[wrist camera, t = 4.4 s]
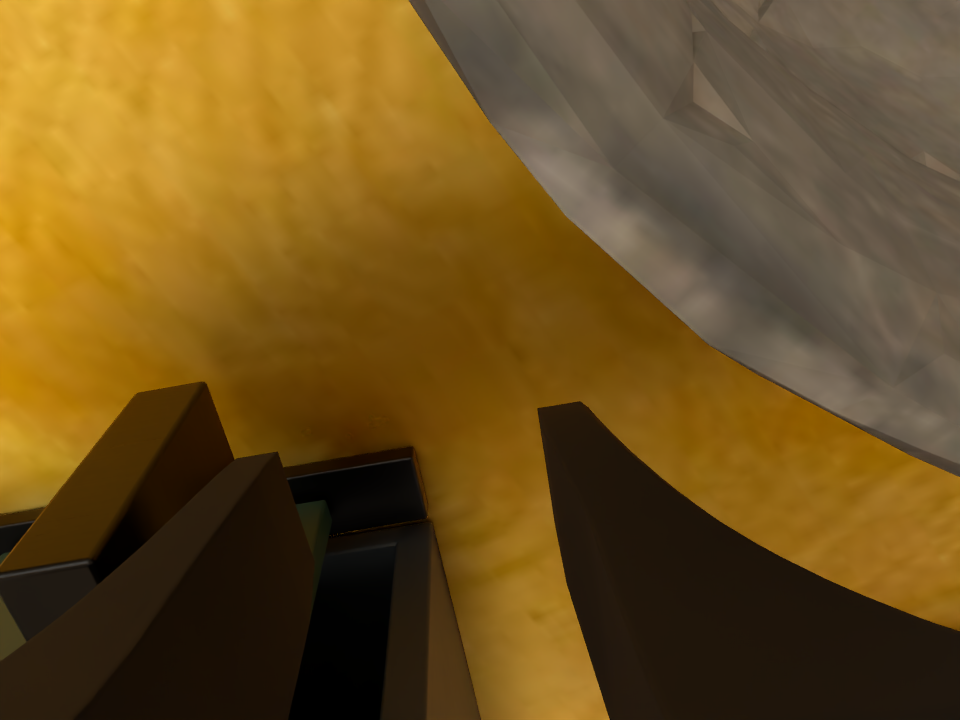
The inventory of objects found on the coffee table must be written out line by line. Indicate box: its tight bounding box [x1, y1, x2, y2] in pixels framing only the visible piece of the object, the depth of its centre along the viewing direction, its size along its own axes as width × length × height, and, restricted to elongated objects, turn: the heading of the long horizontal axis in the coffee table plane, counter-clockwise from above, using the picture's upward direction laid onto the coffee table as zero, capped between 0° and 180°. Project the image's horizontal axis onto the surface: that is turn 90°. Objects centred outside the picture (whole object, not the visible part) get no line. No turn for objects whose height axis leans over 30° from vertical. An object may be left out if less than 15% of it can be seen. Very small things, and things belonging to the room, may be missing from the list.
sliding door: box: [0, 382, 332, 661], centre depth 12 cm, size 7×5×8 cm, turn 100°
